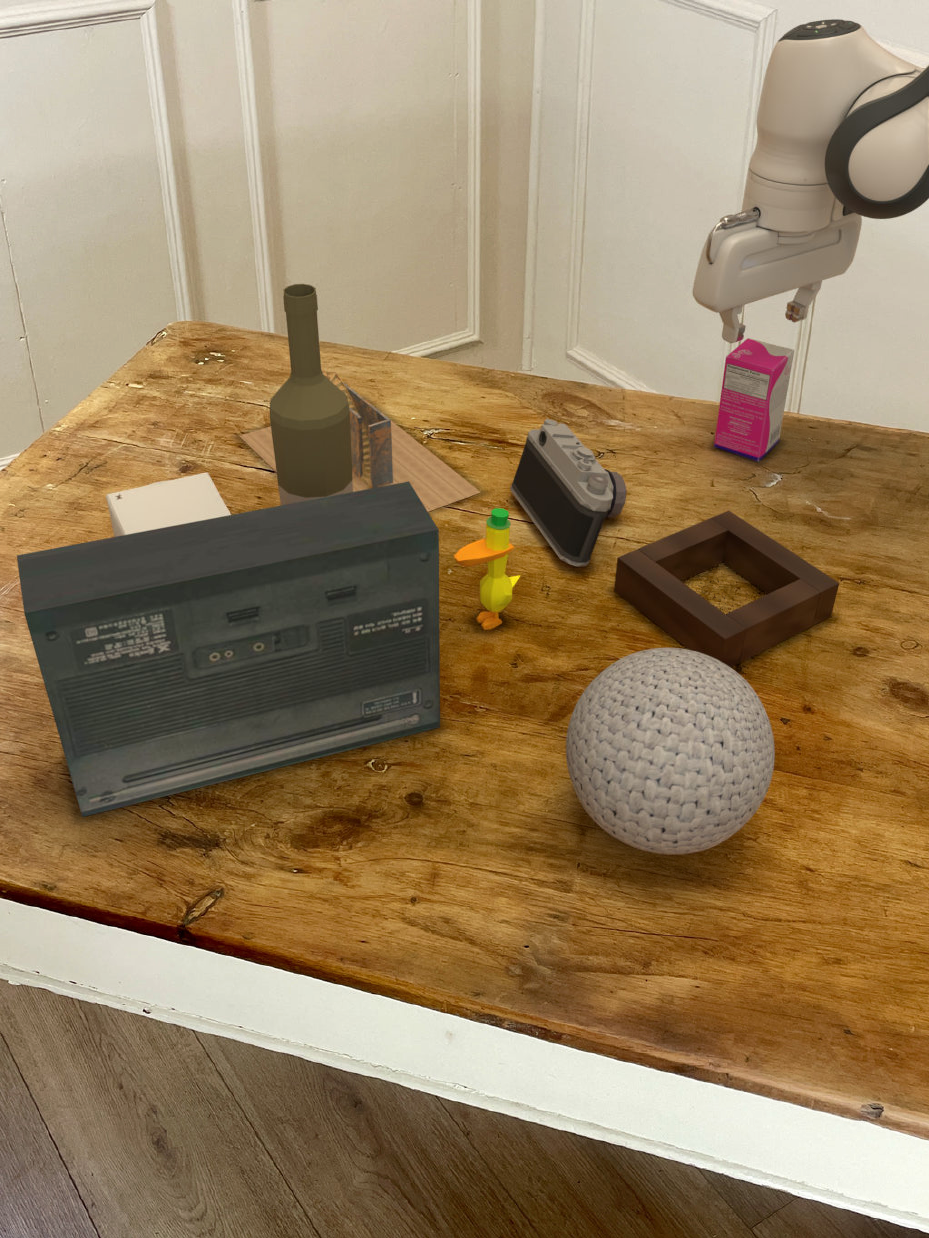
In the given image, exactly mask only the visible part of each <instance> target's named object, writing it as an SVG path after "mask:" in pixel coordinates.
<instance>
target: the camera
mask: <svg viewBox="0 0 929 1238" xmlns="http://www.w3.org/2000/svg"><path fill="white" fill-rule="evenodd" d="M510 492H511V493H512V495H513V496H514V497H515V499H516V500H517V502H519V504H520V506H521V507H522V508H523V510H524V511H525V513H526V514H527V515H528V517H529V518H530V520H531V521H532V523H533V524H534V525H535V527H536V528H537V529H538V530H539V532H540V533H541V535H542V536H543V538H544V539H545V540H546V541H547V544H548V545H549V546H550V547H551V548H552V550H553V552H554V553H555V554H556V556H557V557H558V558H559V560H560V561H563V562H565V563H566V564H567V565H570V566H573V567H586V566H587V565H589V564H590V562H591V559H592V558H591V557H592V554H593V552H594V549H595V546H596V544H597V542H598V538H599V536H600V533H601V531H602V528H603V525H604V523H605V520H606V519H607V518H611V519H612V518H617V517H618V516H619V515H620V514H621V513H622V511H623V509H624V506H625V504H626V498H627V486H626V482H625V480H624V478H623V476H622V475H621V474H620V473H619V472H617V471H610V470H609V469H606V468H604V467H603V466H602V464H600V462H599V461H598V460H597V459H596V456H595V454H594V452H593V451H592V450H591V449H590V448H588V447H586V446H585V445H584V444H583V443H582V441H581V440H580V439H579V438H578V437H577V435H575V433H574V432H573V431H572V430H571V428H569V426H568V425H567V424H566V423H560V422H559V423H558V421H556V420H555V419H551V418H545V419H544V421H543V424H541V426H540V429H539V428H532V429H530V430H529V431H528V433H527V435H526V440H525V444H524V447H523V450H522V453H521V457H520V459H519V462H518V465H517V467H516V471H515V474H514V477H513V480H512V483H511V486H510Z"/></svg>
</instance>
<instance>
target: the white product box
mask: <svg viewBox="0 0 929 1238" xmlns="http://www.w3.org/2000/svg"><path fill="white" fill-rule="evenodd" d="M105 498H106V502H107V507H108V508H107V509H108V513H109V518H110V522H111V527H112V532H113V537H117V536H122V535H128V534H133V533H138V532H144V531H149V530H154V529H159V528H165V527H170V526H175V525H181V524H186V523H191V522H196V521H202V520H207V519H212V518H218V517H223V516H228V515H232V514H231V512H230V510H229V508H228V507H227V505H226V503H225V501H224V499H223V497H222V496H221V494H220V492H219V491H218V489H217V487H216V485H215V483H214V480H213V479H212V477H211V476H210V473H209V472H202V473H197V474H193V475H188V476H183V477H179V478H175V479H169V480H161V481H156V482H153V483H152V482H151V483H149V484H146V485H143V486H138V487H133V488H129V489H124V490H120V491H115V492H110V493H107V494H105Z"/></svg>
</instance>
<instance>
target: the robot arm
mask: <svg viewBox="0 0 929 1238" xmlns="http://www.w3.org/2000/svg"><path fill="white" fill-rule="evenodd" d="M757 107H758V108H757V113H756V121H755V122H756V123H755V124H756V134H757V137H756V138H757V139H756V144H755V147H754V150H753V151H752V154H751V157H750V159H749V162H748V168H747V173H746V180H745V186H744V192H743V198H742V204H741V210H740V212H738V213H735V214H727V215H725V216H722V217H721V218H720V219H719V221H718V223H716V224H715V225H714V227H713V228H712V229H710V231H708V234H707V238H706V239H705V242H704V244H703V246H702V250H701V253H700V255H699V260H698V264H697V268H696V273H695V275H694V280H693V286H692V296H693V299H694V300H695V302H696V303H697V304H698V305H700V306H702V307H703V308H705V309H707V310H709V311H711V312H714V313H717V314H719V317H720V319H721V322H722V324H723V325H722V330H721V338H722V340H723V341H725V342H727V343H729V344H734V343H738V342H740V341H742V340H744V337H745V335H744V334H745V332H746V324H743V323H741V322H740V319H739V316H738V315H741V314H742V313H743V307H744V306H745V305H749V304H752V303H754V302H757V301H762V300H764V299H767V298H770V297H774V296H777V295H780V294H783V293H787V292H789V291H790V292H791V291H793V290H797V291H796V292H795V294H794V297H793V299H792V300H791V301H789V302H787V303H786V311H785V314H784V315H785V318H786V320H788V321H791V322H792V323H798V322H801V321H804V320H806V319H807V317H808V312H809V308H810V306H811V304H812V302H813V301H814V300H815V298H816V297H817V295H818V293H819V292H820V291H821V289H822V283H823V281H825V280H828V279H831V278H834V277H838V276H842V275H844V274H845V273H846V272H847V271H848V270H849V268H850V267H851V265H852V263H853V262H854V258H855V255H856V252H857V248H858V244H859V240H860V236H861V230H862V225H863V224H862V223H863V218H862V217H864V218H869V219H873V220H889V219H890V220H891V219H895V218H899V217H903V216H905V215H907V214H910V213H912V212H914V211H915V210H917V209H919V208H920V207H921V206H923V205H924V204H926V202H927V201H928V200H929V64H927V66H926V67H925V68H924V67H921V66H919V65H916V64H913V63H911V62H909V61H907V60H905V59H902V58H901V57H899V56H897V55H896V54H894V53H892V52H890V51H889V50H888V49H887V48H885V47H883V46H882V45H881V44H879V43H878V42H877V41H876V40H874V39H873V38H872V37H871V36H870V35H869V33H868V32H867V31H866V30H865V28H864V27H863V25H861V24H860V23H859V22H855V21H853V20H846V19H845V20H844V19H835V18H834V19H822V20H815V21H809V22H807V23H804V24H799V25H797V26H794V27H793V28H792V29H790V30H788V31H786V32H785V33H784V34H783V36H782V37H780V38H779V39H778V40H777V42H776V43H775V45H774V47H773V49H772V51H771V54H770V56H769V59H768V62H767V66H766V70H765V74H764V77H763V82H762V87H761V92H760V96H759V102H758V106H757Z"/></svg>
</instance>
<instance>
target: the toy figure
mask: <svg viewBox="0 0 929 1238" xmlns="http://www.w3.org/2000/svg"><path fill="white" fill-rule="evenodd" d="M509 516H510V513H509V510H507V509H505V508H499V507H495V508H493V509H491V511H490V516H489V517H487V518H486V524H485V538H481V539H478V540H475V541H474V542H471V543H468V544H466V545H464V546H463V547H461V548H460V549H459V550H458V551H457V552H456V553H455V554H454V556H453V557H454V558H453V559H454V560H455V564H458V565H461V566H463V567H465V568H468V567H474V566H477V565H481V564H483V563H486V565H487V573H486V574H485V575H484V576H483V577H482V578H481V579H480V580H479V591H478V592H479V593H478V594H479V599H480V600H479V601H480V603H481V604H482V605H483V607H484V608H485V609H486V611H485V610H484V611H481V612H480V613H479V614H478V615H477V617H476V618H475V620H476V621H477V623H478V624H481V625H480V626H481V628H482V629H483V630H484V631H485V630H486V631H487V630H492V629H495V628H497V627H498V626H500V625H501V624H503V621H502V619H501V618H499V615H500V614H499V613H500V612H502V611H503V610H504V609H505V608H506V607H507V606H508V605H510V603H511V602H512V600H513V588H514V587H515V585H516V584H517V582H518V580H519V579H520V578H521V576H522V575H521V574H519V575H513V576H508V575H507V574H506V568H507V563H508V557H509V554H510V553H511V552H512V551H513V550H515V546H514V545H513V544H512V543H511V542H510V529H511V528H510V527H511V525H512V524H511V523H512V522H511V521H510V520H509Z"/></svg>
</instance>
